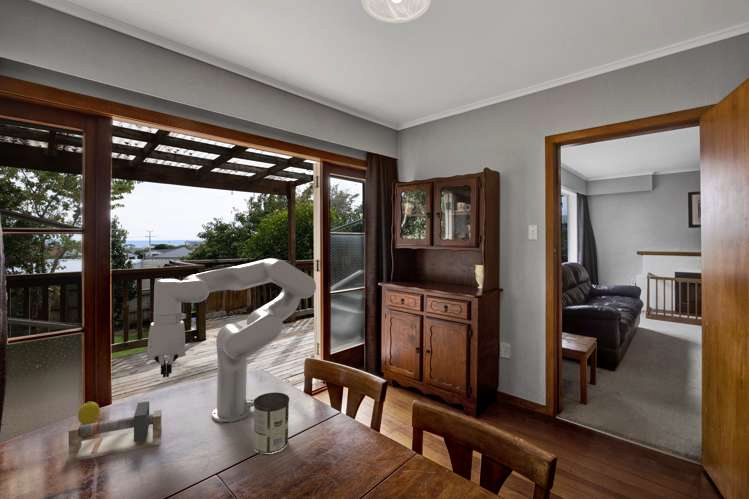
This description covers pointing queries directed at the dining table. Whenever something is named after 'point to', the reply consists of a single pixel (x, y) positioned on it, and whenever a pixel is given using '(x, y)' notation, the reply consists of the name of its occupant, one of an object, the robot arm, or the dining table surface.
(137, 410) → the grey frame
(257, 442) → the coffee can
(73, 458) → the pipe stand
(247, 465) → the dining table surface
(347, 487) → the dining table surface
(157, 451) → the dining table surface
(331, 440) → the dining table surface
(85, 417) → the lemon
